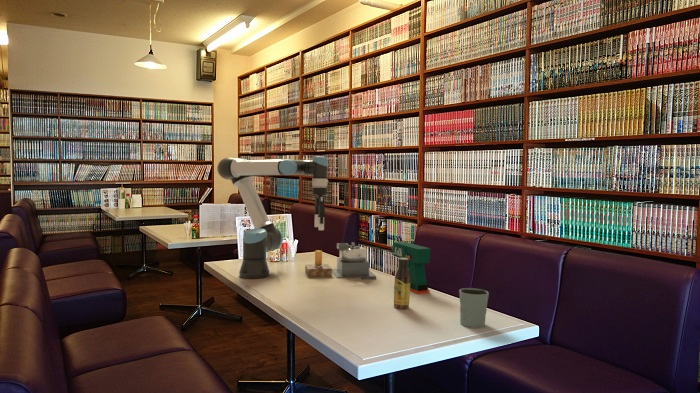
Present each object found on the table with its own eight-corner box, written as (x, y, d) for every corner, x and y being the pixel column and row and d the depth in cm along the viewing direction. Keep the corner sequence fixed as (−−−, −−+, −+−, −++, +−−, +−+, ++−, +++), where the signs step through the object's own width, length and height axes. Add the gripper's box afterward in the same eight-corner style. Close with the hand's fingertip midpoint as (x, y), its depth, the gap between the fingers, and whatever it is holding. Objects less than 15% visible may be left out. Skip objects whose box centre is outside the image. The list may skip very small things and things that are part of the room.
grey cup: (452, 323, 172) (453, 290, 172) (468, 318, 180) (469, 286, 179) (478, 330, 165) (479, 296, 165) (492, 324, 172) (494, 291, 172)
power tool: (381, 279, 243) (382, 239, 242) (393, 278, 246) (394, 239, 245) (416, 294, 214) (417, 249, 213) (429, 292, 217) (430, 248, 216)
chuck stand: (337, 280, 238) (337, 264, 238) (330, 271, 258) (330, 257, 258) (376, 279, 242) (376, 263, 242) (366, 270, 262) (366, 256, 262)
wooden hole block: (307, 279, 239) (308, 269, 239) (305, 274, 251) (305, 264, 251) (331, 278, 242) (331, 268, 242) (327, 273, 254) (328, 264, 253)
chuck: (340, 262, 241) (340, 245, 241) (335, 257, 255) (335, 241, 255) (369, 261, 244) (369, 244, 244) (362, 256, 258) (363, 240, 258)
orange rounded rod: (315, 275, 244) (315, 251, 244) (314, 273, 248) (314, 250, 247) (322, 274, 245) (322, 251, 245) (321, 273, 249) (321, 250, 248)
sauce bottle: (390, 305, 194) (392, 257, 193) (404, 304, 196) (406, 256, 195) (398, 310, 188) (399, 259, 187) (412, 309, 190) (413, 259, 189)
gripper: (331, 187, 233) (330, 231, 234) (323, 186, 257) (322, 225, 259) (316, 187, 231) (315, 231, 233) (309, 186, 256) (308, 225, 257)
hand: (319, 228), depth 246 cm, fingers open, 13 cm apart
